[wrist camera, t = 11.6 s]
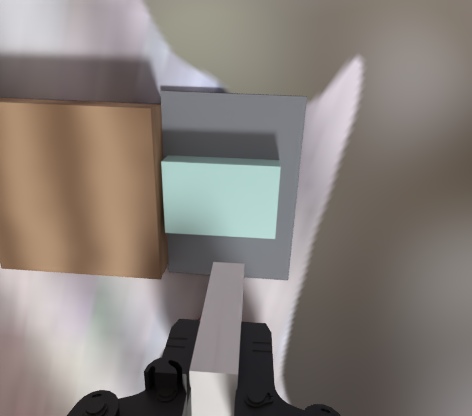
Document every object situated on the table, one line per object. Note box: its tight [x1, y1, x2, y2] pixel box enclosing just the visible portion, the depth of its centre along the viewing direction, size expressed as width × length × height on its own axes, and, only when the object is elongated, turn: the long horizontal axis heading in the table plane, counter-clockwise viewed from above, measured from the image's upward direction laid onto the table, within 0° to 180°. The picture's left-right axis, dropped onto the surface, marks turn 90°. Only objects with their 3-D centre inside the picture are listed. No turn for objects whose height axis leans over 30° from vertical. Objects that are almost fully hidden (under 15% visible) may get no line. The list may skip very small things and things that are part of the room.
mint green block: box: [161, 155, 281, 239], centre depth 28 cm, size 9×6×2 cm, turn 89°
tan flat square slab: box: [0, 98, 168, 279], centre depth 29 cm, size 14×14×3 cm
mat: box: [160, 91, 307, 280], centre depth 29 cm, size 11×16×1 cm
